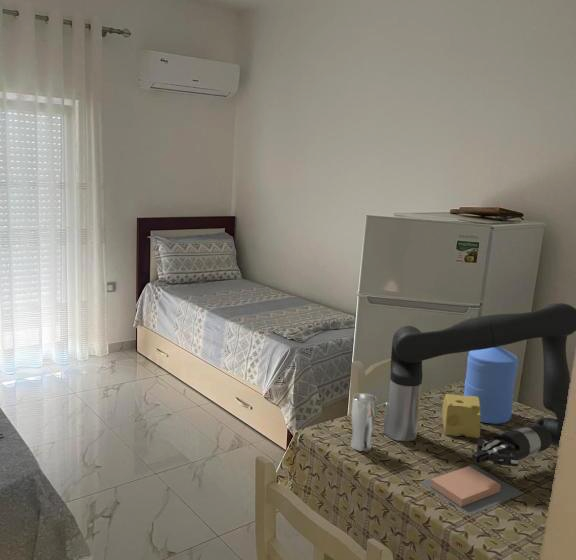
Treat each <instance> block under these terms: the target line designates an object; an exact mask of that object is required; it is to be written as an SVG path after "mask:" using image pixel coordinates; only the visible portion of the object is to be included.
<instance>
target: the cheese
mask: <svg viewBox="0 0 576 560" xmlns="http://www.w3.org/2000/svg"><path fill="white" fill-rule="evenodd" d="M441 410H442V411H441V412H442V413H441V415H442V416H441V417H442V426H443V429H444V435H445V436H451V437H452V436H453V437H461V436H464V437H465V438H469V437H470V438H471V437H472V438H477V439H478V437H481V436H480V435H481V423H482V422H481V415H480V403H479V398H478V397H477V396H464V395H459V394H450V393H446V394H445V395H444V397H443V403H442V409H441Z"/></svg>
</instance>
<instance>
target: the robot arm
mask: <svg viewBox="0 0 576 560" xmlns="http://www.w3.org/2000/svg"><path fill="white" fill-rule="evenodd" d="M575 332H576V308H575V307H574V306H572V305H570V304H568V303H562V302H561V303H551V304H547V305H545V306H544V307H543V308H541V309H540V308H539V309H537V310H533V311H532V310H531V311H528V312H521V313H502V314H501V313H498V314H489V315H482V316H477V317H471V318H468V319H465V320H462V321H460V322H457V323H454V324H453V325H451V326H449V327H447V328H444V329H441V330H440V329H438V330H435V331H426V332H425V331H424V332H421V331H420V329H419V328H417V327H415V326H411V325H405V326H401V327H399V328H398V329H397V330H396V331H395V333H394V335H393V336H392V337H393V338H392V342H391V343H392V344H391V352H390V353H391V354H390V379H389V388H388V389H389V390H388V402H386V403H385V404H384V414H383V415H384V416H383V426H382V433H383V434H384V435H386V436H387V437H388V438H389V439H392V440H395V441H398V442H412V441H414V440H416V438H417V433H418V426H419V425H418V424H419V414H420V403H421V395H422V384H423V361H426V360H429V359H433V358H438V357H441V356H445V355H451V354H458V353H466V352H469V351H473V350H481V349H488V348H493V347H498V346H500V347H502V346H503V347H504V346H507V345H511V344H515V343H518V342H522V341H526V340H530V339H539V338H541V344H542V355H543V356H542V357H543V384H542V385H543V386H542V387H543V388H542V389H543V391H542V404H543V407H544V408H545V409H546V410H548V411H551V412H552V413H553V414H555V417H556V418H553V417H541V418H538V419H537V420H535V422H534V423H532V424H531V425H529V426H525V427H520V428H516V429H513V430H510V431H507V432H503V433H501V434H499V435H498V436H497V437H496V438H495V439H488V440H485V439H484V438H483V437H482V436H479V437H478V438H477V446H476V451H474V452H472V454H471V461H472V462H474V463H475V464H477V465H478V464H482V463H485V462H487V463H490V462H491V463H492V464H493V465H498V466H507V467H508V466H509V467H518V466H519V461H522V460H524V459H527V458H530V457H533V455H535V454H538V453H540V452H543V451H546V450H548V449H549V448H550V447H551V446H552V445H556V446H559V440H560V436H561V431H562V426H563V421H564V417H565V410H566V404H567V396H568V389H569V383H570V382H571V374H570V370H569V364H568V359H567V339H568V336H570V335H572V334H574V333H575Z"/></svg>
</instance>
